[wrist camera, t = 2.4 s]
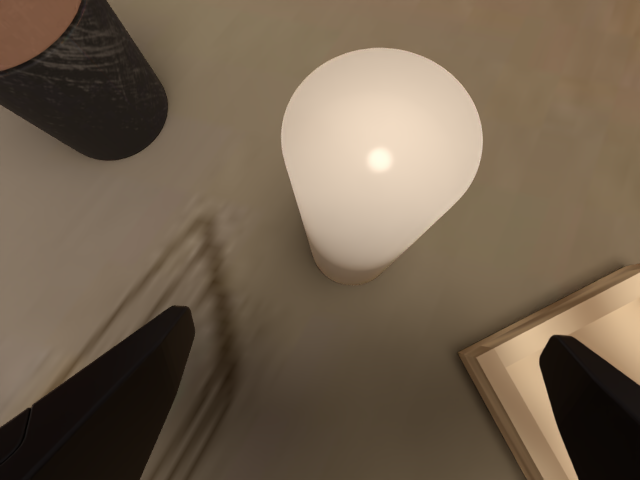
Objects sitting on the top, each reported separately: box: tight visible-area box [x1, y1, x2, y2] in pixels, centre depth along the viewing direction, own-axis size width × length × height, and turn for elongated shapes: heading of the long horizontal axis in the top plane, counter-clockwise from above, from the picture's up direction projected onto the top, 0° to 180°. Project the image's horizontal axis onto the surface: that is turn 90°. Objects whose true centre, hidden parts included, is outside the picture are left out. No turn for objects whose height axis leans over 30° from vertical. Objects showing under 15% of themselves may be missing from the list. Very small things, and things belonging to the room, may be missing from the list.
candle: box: [281, 48, 483, 285], centre depth 15 cm, size 5×5×13 cm
